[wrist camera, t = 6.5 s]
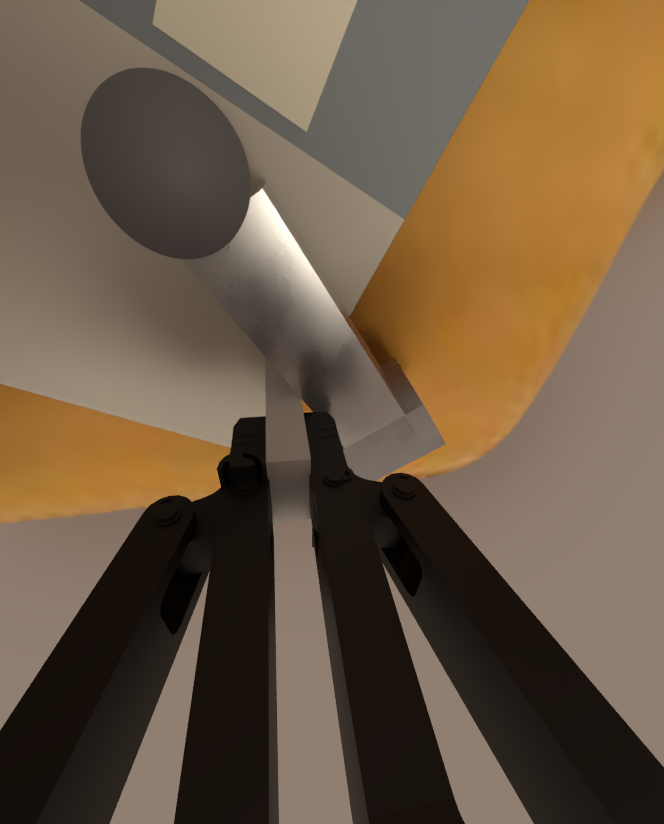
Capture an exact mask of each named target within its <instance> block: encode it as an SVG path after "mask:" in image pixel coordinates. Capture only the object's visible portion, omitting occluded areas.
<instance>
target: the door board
mask: <svg viewBox="0 0 664 824" xmlns="http://www.w3.org/2000/svg"><path fill="white" fill-rule="evenodd" d="M528 2H529V0H0V384H2V385H6V386H10V387H13V388H17V389H20V390H24V391H28V392H31V393H35V394H38V395H42V396H46V397H49V398H53V399H56V400H60V401H64V402H67V403H71V404H74V405H78V406H82V407H85V408H89V409H92V410H96V411H100V412H103V413H107V414H110V415H114V416H118V417H121V418H125V419H128V420H132V421H136V422H139V423H143V424H146V425H150V426H154V427H157V428H161V429H164V430H168V431H172V432H175V433H179V434H183V435H186V436H190V437H193V438H197V439H201V440H204V441H208V442H211V443H215V444H219V445H222V446H226V447H229V448H231V443H232V434H233V427H234V425H235V424H236V423H237V421H238V420H239V419H240V418H246V417H262V416H266V390H265V358H266V357H265V356H264V354H263V353H262V352H261V351H260V350H259V349H258V347H257V346H256V345H255V344H254V343H253V342H252V341H251V339H250V338H249V337H248V336H247V335H246V334H245V332H244V331H243V330H242V329H241V328H240V327H239V326H238V324H237V323H236V322H235V321H234V320H233V319H232V317H231V316H230V315H229V314H228V313H227V312H226V310H225V309H224V308H223V307H222V306H221V305H220V304H219V302H218V301H217V300H216V299H215V298H214V297H213V295H212V294H211V293H210V292H209V291H208V290H207V289H206V287H205V286H204V285H203V284H202V283H201V282H200V280H199V279H198V278H197V277H196V276H195V275H194V274H193V272H192V271H191V270H190V269H189V268H188V267H187V265H186V264H185V263H184V262H183V261H182V260H181V259H198V258H203V257H206V256H209V255H212V254H214V253H216V252H218V251H219V250H221V249H222V248H224V247H225V246H226V245H227V244H228V243H230V242H231V240H232V239H233V238H234V237H235V236H236V234H237V233H238V231H239V229H240V228H241V226H242V224H243V222H244V219H245V217H246V215H247V211H248V208H249V203H250V196H251V193H252V192H253V191H254V190H256V189H257V188H258V187H259V186H261V185H262V184H263V183H264V182H267V184H268V185H269V187H270V189H271V190H272V192H273V193H274V195H275V197H276V198H277V200H278V202H279V203H280V205H281V206H282V208H283V210H284V211H285V213H286V215H287V216H288V218H289V219H290V221H291V223H292V224H293V226H294V227H295V229H296V231H297V232H298V234H299V236H300V237H301V239H302V240H303V242H304V244H305V245H306V247H307V249H308V250H309V252H310V253H311V255H312V257H313V258H314V260H315V262H316V263H317V265H318V266H319V268H320V270H321V271H322V273H323V274H324V276H325V278H326V279H327V281H328V283H329V284H330V286H331V287H332V289H333V291H334V292H335V294H336V296H337V297H338V299H339V300H340V302H341V304H342V305H343V307H344V309H345V310H346V312H347V313H348V315H349V316H350V315H351V313H352V311H353V309H354V308H355V306H356V304H357V302H358V301H359V299H360V297H361V295H362V294H363V292H364V290H365V288H366V287H367V285H368V283H369V281H370V279H371V278H372V276H373V274H374V272H375V271H376V269H377V267H378V265H379V264H380V262H381V260H382V258H383V257H384V255H385V253H386V251H387V250H388V248H389V246H390V244H391V243H392V241H393V239H394V237H395V236H396V234H397V232H398V230H399V228H400V227H401V225H402V223H403V221H404V220H405V218H406V216H407V214H408V213H409V211H410V209H411V207H412V206H413V204H414V202H415V200H416V199H417V197H418V195H419V193H420V192H421V190H422V188H423V186H424V184H425V183H426V181H427V179H428V177H429V176H430V174H431V172H432V170H433V169H434V167H435V165H436V163H437V162H438V160H439V158H440V156H441V155H442V153H443V151H444V149H445V148H446V146H447V144H448V142H449V141H450V139H451V137H452V135H453V133H454V132H455V130H456V128H457V126H458V125H459V123H460V121H461V119H462V118H463V116H464V114H465V112H466V111H467V109H468V107H469V105H470V104H471V102H472V100H473V98H474V97H475V95H476V93H477V91H478V89H479V88H480V86H481V84H482V82H483V81H484V79H485V77H486V75H487V74H488V72H489V70H490V68H491V67H492V65H493V63H494V61H495V60H496V58H497V56H498V54H499V53H500V51H501V49H502V47H503V46H504V44H505V42H506V40H507V38H508V37H509V35H510V33H511V31H512V30H513V28H514V26H515V24H516V23H517V21H518V19H519V17H520V16H521V14H522V12H523V10H524V9H525V7H526V5H527V3H528ZM301 401H302V398H301Z"/></svg>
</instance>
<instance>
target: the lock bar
mask: <svg viewBox="0 0 664 824" xmlns="http://www.w3.org/2000/svg"><path fill="white" fill-rule="evenodd" d="M181 260H182V261H183V262H184V263H185V264H186V265H187V267H188V268H189V269H190V270H191V271H192V272H193V274H194V275H195V276H196V277H197V278H198V279H199V280H200V282H201V283H202V284H203V285H204V286H205V287H206V289H207V290H208V291H209V292H210V293H211V294H212V295H213V297H214V298H215V299H216V300H217V301H218V302H219V304H220V305H221V306H222V307H223V308H224V309H225V310H226V312H227V313H228V314H229V315H230V316H231V317H232V319H233V320H234V321H235V322H236V323H237V324H238V326H239V327H240V328H241V329H242V330H243V331H244V332H245V334H246V335H247V336H248V337H249V338H250V339H251V341H252V342H253V343H254V344H255V345H256V346H257V347H258V349H259V350H260V351H261V352H262V353H263V354H264V356H265V357H266V358H267V359H268V360H269V361H270V362H271V364H272V365H273V366H274V367H275V368H276V369H277V371H278V372H279V373H280V374H281V375H282V376H283V378H284V379H285V380H286V381H287V382H288V383H289V384H290V386H291V387H292V388H293V389H294V390H295V391H296V393H297V394H298V395H299V396H300V397H301V398H302V399H303V401H304V402H305V403H306V404H307V405H308V406H309V408H310V409H311V410H312V411H313V412H328V413H329V414H330V415H331V416H332V417H333V418H334V420H335V423H336V427H337V430H338V434H339V437H340V441H341V444H342V448H343V452H344V455H345V459H346V462H347V465H348V467H349V468H350V469H352V471H353V472H354V474H355V475H357V476H359V477H361V478H363V479H367V480H372V481H375V480H377V479H379V478H381V477H383V476H385V475H387V474H389V473H391V472H393V471H395V470H397V469H399V468H401V467H402V466H404V465H406V464H408V463H410V462H412V461H414V460H416V459H418V458H420V457H422V456H424V455H426V454H428V453H430V452H432V451H434V450H436V449H438V448H440V447H441V446H443V445H445V442H444V440H443V438H442V437H441V435H440V433H439V431H438V429H437V428H436V426H435V424H434V422H433V421H432V419H431V417H430V415H429V414H428V412H427V410H426V408H425V407H424V405H423V403H422V402H421V400H420V398H419V397H418V395H417V393H416V392H415V390H414V388H413V387H412V385H411V384H410V382H409V380H408V379H407V377H406V375H405V374H404V372H403V371H402V369H401V367H400V366H399V364H398V362H397V361H396V359H395V358H393V359H391V360H390V361H388V362H386V363H384V364H383V365H381V366H380V365H379V364H378V362H377V360H376V359H375V357H374V356H373V354H372V352H371V351H370V349H369V347H368V346H367V344H366V343H365V341H364V339H363V338H362V336H361V334H360V333H359V331H358V330H357V328H356V326H355V325H354V323H353V321H352V320H351V318H350V317H349V315H348V313H347V312H346V310H345V309H344V307H343V305H342V304H341V302H340V300H339V299H338V297H337V296H336V294H335V292H334V291H333V289H332V287H331V286H330V284H329V283H328V281H327V279H326V278H325V276H324V274H323V273H322V271H321V270H320V268H319V266H318V265H317V263H316V262H315V260H314V258H313V257H312V255H311V253H310V252H309V250H308V249H307V247H306V245H305V244H304V242H303V240H302V239H301V237H300V236H299V234H298V232H297V231H296V229H295V227H294V226H293V224H292V223H291V221H290V219H289V218H288V216H287V215H286V213H285V211H284V210H283V208H282V206H281V205H280V203H279V202H278V200H277V198H276V197H275V195H274V193H273V192H272V190H271V189H270V187H269V185H268V184H267V182H264V183H263V184H262V185H261V186H259V187H258V188H257V189H256V190H254V191H253V192H252V193H251V196H250V203H249V208H248V211H247V215H246V217H245V219H244V222H243V224H242V226H241V228H240V229H239V231H238V233H237V234H236V236H235V237H234V238H233V239H232V240H231V242H230V243H228V244H227V245H226V246H225V247H224V248H222V249H221V250H219V251H218V252H216V253H214V254H212V255H209V256H206V257H203V258H198V259H181Z"/></svg>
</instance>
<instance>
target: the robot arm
mask: <svg viewBox="0 0 664 824" xmlns="http://www.w3.org/2000/svg"><path fill="white" fill-rule="evenodd" d="M265 390H266V416H262V417H246V418H240V419H239V420H238V421H237V423H236V424H235V425H234V427H233V434H232V443H231V451H230V454H229V455H227V456H225V457H224V458H223V459H222V460H221V461H220V463H219V465H218V467H217V471H218V475H219V479H220V484H221V488H220V489H219V490H218V491H216V492H215V493H213V494H211V495H209V496H207V497H204V498H202V499H199V500H196V501H193V502H191V501H190V500H189V499H188V498H187V497H183V496H180V495H177V496H168V497H165V498H162V499H159V500H158V501H156V502H154V503H153V504H151V505H150V506H149V507H148V508H147V509H146V510H145V512H144V513H143V514H142V516H141V517H140V519H139V521H138V522H137V523H136V525H135V526H134V528H133V529H132V531H131V533H130V534H129V536H128V537H127V539H126V540H125V542H124V543H123V545H122V546H121V548H120V549H119V551H118V553H117V554H116V555H115V557H114V558H113V560H112V561H111V563H110V564H109V566H108V567H107V569H106V571H105V572H104V574H103V575H102V577H101V578H100V580H99V581H98V583H97V584H96V586H95V587H94V589H93V590H92V592H91V594H90V595H89V597H88V598H87V599H86V601H85V603H84V604H83V606H82V607H81V609H80V610H79V612H78V613H77V615H76V616H75V618H74V619H73V621H72V622H71V624H70V625H69V627H68V628H67V630H66V632H65V633H64V634H63V636H62V637H61V639H60V641H59V642H58V644H57V645H56V647H55V648H54V650H53V651H52V653H51V654H50V656H49V657H48V659H47V660H46V662H45V663H44V665H43V666H42V668H41V669H40V671H39V672H38V674H37V676H36V677H35V679H34V680H33V682H32V683H31V685H30V686H29V688H28V689H27V691H26V692H25V694H24V695H23V697H22V698H21V700H20V701H19V703H18V704H17V706H16V707H15V709H14V710H13V712H12V714H11V715H10V717H9V718H8V720H7V721H6V723H5V724H4V726H3V727H2V729H1V730H0V824H109V823H110V821H111V818H112V815H113V813H114V811H115V808H116V805H117V803H118V801H119V798H120V795H121V792H122V790H123V788H124V785H125V783H126V780H127V778H128V775H129V773H130V770H131V768H132V765H133V763H134V760H135V758H136V755H137V753H138V750H139V748H140V745H141V742H142V740H143V737H144V735H145V732H146V730H147V727H148V725H149V722H150V720H151V717H152V715H153V712H154V710H155V707H156V704H157V702H158V700H159V697H160V694H161V692H162V689H163V687H164V684H165V682H166V679H167V677H168V674H169V672H170V669H171V667H172V664H173V662H174V659H175V657H176V654H177V652H178V649H179V646H180V644H181V641H182V639H183V636H184V634H185V631H186V629H187V626H188V624H189V621H190V619H191V616H192V614H193V611H194V609H195V606H196V604H197V601H198V599H199V596H200V593H201V591H202V588H203V586H204V583H205V581H206V578H207V576H208V573H209V571H210V574H209V582H208V588H207V595H206V602H205V609H204V616H203V623H202V631H201V637H200V644H199V651H198V658H197V665H196V672H195V680H194V686H193V693H192V701H191V708H190V714H189V722H188V729H187V735H186V743H185V749H184V757H183V764H182V771H181V778H180V785H179V792H178V799H177V806H176V813H175V820H174V824H279V809H278V808H279V807H278V752H277V751H278V750H277V697H276V696H277V695H276V694H277V693H276V642H275V641H276V640H275V639H276V638H275V637H276V636H275V584H274V583H275V579H274V536H273V522H281V521H291V520H300V519H309V518H311V519H312V547H314V549H315V556H316V562H317V570H318V577H319V584H320V591H321V598H322V606H323V613H324V619H325V627H326V634H327V641H328V649H329V656H330V663H331V670H332V677H333V684H334V691H335V698H336V706H337V713H338V720H339V727H340V734H341V741H342V749H343V755H344V763H345V770H346V776H347V784H348V791H349V799H350V806H351V813H352V820H353V824H465V823H464V821H463V819H462V817H461V815H460V812H459V810H458V807H457V805H456V802H455V799H454V796H453V792H452V789H451V786H450V783H449V779H448V776H447V773H446V770H445V767H444V763H443V760H442V757H441V753H440V750H439V747H438V743H437V740H436V737H435V734H434V730H433V727H432V724H431V721H430V717H429V714H428V711H427V708H426V704H425V701H424V698H423V694H422V691H421V688H420V685H419V682H418V678H417V675H416V672H415V668H414V665H413V662H412V659H411V655H410V652H409V649H408V645H407V642H406V639H405V636H404V633H403V629H402V626H401V623H400V620H399V616H398V613H397V610H396V606H395V603H394V600H393V597H392V593H391V590H390V587H389V583H388V580H387V577H386V574H385V571H384V567H383V564H384V566H385V568H386V569H387V571H388V573H389V575H390V576H391V578H392V580H393V581H394V583H395V585H396V587H397V589H398V590H399V592H400V594H401V595H402V597H403V599H404V600H405V602H406V604H407V606H408V607H409V609H410V611H411V613H412V614H413V616H414V618H415V619H416V621H417V623H418V625H419V626H420V628H421V630H422V631H423V633H424V635H425V637H426V638H427V640H428V642H429V643H430V645H431V647H432V649H433V650H434V652H435V654H436V656H437V657H438V659H439V661H440V662H441V664H442V666H443V668H444V669H445V671H446V673H447V675H448V676H449V678H450V680H451V682H452V683H453V685H454V687H455V688H456V690H457V692H458V693H459V695H460V697H461V699H462V700H463V702H464V704H465V705H466V707H467V709H468V711H469V713H470V714H471V716H472V718H473V719H474V721H475V723H476V725H477V726H478V728H479V730H480V731H481V733H482V735H483V736H484V738H485V740H486V742H487V743H488V745H489V747H490V749H491V750H492V752H493V754H494V755H495V757H496V759H497V761H498V762H499V764H500V766H501V767H502V769H503V771H504V773H505V774H506V776H507V778H508V780H509V781H510V783H511V785H512V787H513V788H514V790H515V792H516V793H517V795H518V797H519V799H520V800H521V802H522V804H523V805H524V807H525V809H526V811H527V812H528V814H529V816H530V817H531V819H532V821H533V823H534V824H664V767H663V766H662V765H661V764H660V762H659V761H658V760H657V759H656V758H655V757H654V755H653V754H652V753H651V752H650V751H649V749H648V748H647V747H646V746H645V745H644V744H643V742H642V741H641V740H640V739H639V738H638V736H637V735H636V734H635V733H634V732H633V731H632V730H631V728H630V727H629V726H628V725H627V724H626V722H625V721H624V720H623V719H622V718H621V717H620V715H619V714H618V713H617V712H616V711H615V709H614V708H613V707H612V706H611V705H610V704H609V702H608V701H607V700H606V699H605V698H604V696H603V695H602V694H601V693H600V692H599V691H598V689H597V688H596V687H595V686H594V685H593V684H592V682H591V681H590V680H589V679H588V678H587V676H586V675H585V674H584V673H583V672H582V671H581V670H580V668H579V667H578V666H577V665H576V663H575V662H574V661H573V660H572V659H571V658H570V656H569V655H568V654H567V653H566V652H565V651H564V649H563V648H562V647H561V646H560V645H559V643H558V642H557V641H556V640H555V639H554V638H553V636H552V635H551V634H550V633H549V632H548V630H547V629H546V628H545V627H544V626H543V625H542V623H541V622H540V621H539V620H538V619H537V618H536V616H535V615H534V614H533V613H532V612H531V610H530V609H529V608H528V607H527V606H526V605H525V603H524V602H523V601H522V600H521V599H520V598H519V596H518V595H517V594H516V593H515V592H514V590H513V589H512V588H511V587H510V586H509V585H508V583H507V582H506V581H505V580H504V579H503V578H502V576H501V575H500V574H499V573H498V572H497V570H495V568H494V567H493V566H492V565H491V564H490V562H489V561H488V560H487V559H486V557H485V556H484V555H483V554H482V553H481V552H480V551H479V549H478V548H477V547H476V546H475V544H474V543H473V542H472V541H471V540H470V539H469V538H468V536H467V535H466V534H465V533H464V532H463V531H462V529H461V528H460V527H459V526H458V525H457V523H456V522H455V521H454V520H453V519H452V517H451V516H450V515H449V514H448V513H447V512H446V511H445V509H444V508H443V507H442V506H441V505H440V504H439V502H438V501H437V500H436V499H435V497H434V496H433V495H432V494H431V493H430V492H429V490H428V489H427V488H426V487H425V486H424V484H423V483H422V482H421V481H419V480H418V479H417V478H416V477H413V476H411V475H409V474H404V473H395V474H391V475H389V476H387V477H386V478H385V479H384V480H383V482H378V481H372V480H367V479H363V478H361V477H359V476H357V475H355V474H354V472H353V471H352V469H350V468H349V467H348V465H347V462H346V459H345V455H344V452H343V448H342V444H341V441H340V437H339V434H338V430H337V427H336V423H335V420H334V418H333V417H332V416H331V415H330V414H329V413H328V412H311V413H303V408H302V402H301V397H300V396H299V395H298V394H297V393H296V391H295V390H294V389H293V388H292V387H291V386H290V384H289V383H288V382H287V381H286V380H285V379H284V378H283V376H282V375H281V374H280V373H279V372H278V371H277V369H276V368H275V367H274V366H273V365H272V364H271V362H270V361H269V360H268V359H267V358H265ZM382 563H383V564H382Z"/></svg>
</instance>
